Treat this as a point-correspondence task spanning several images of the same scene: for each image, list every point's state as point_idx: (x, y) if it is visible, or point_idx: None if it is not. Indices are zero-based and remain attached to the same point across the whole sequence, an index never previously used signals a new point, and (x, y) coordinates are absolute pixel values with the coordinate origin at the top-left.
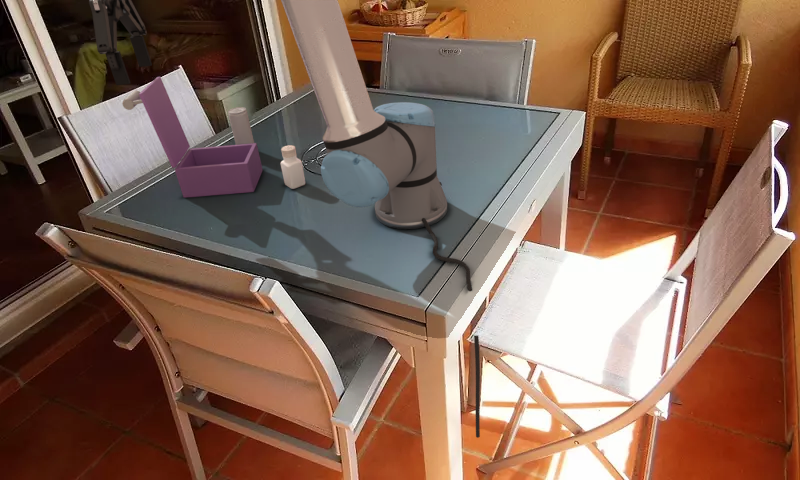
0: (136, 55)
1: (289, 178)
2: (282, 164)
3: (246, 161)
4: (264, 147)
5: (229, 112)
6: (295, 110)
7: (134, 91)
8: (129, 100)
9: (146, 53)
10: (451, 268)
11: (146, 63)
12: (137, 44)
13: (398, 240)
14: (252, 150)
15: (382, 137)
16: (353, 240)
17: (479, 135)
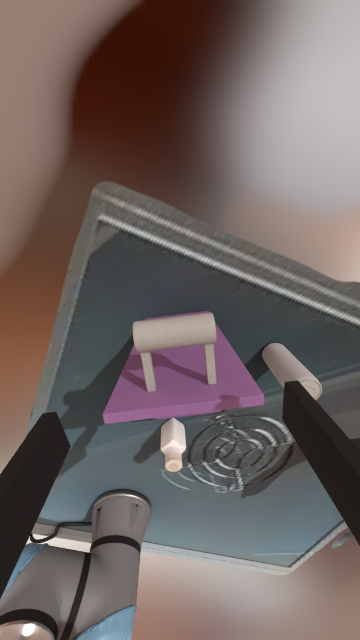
0: (312, 419)
1: (161, 435)
2: (167, 442)
3: (162, 417)
4: None
5: (301, 382)
6: None
7: (209, 333)
8: (136, 350)
9: (309, 460)
10: (51, 529)
11: (288, 414)
12: (346, 489)
13: (79, 504)
14: (196, 414)
15: None
16: (75, 482)
17: (258, 531)
